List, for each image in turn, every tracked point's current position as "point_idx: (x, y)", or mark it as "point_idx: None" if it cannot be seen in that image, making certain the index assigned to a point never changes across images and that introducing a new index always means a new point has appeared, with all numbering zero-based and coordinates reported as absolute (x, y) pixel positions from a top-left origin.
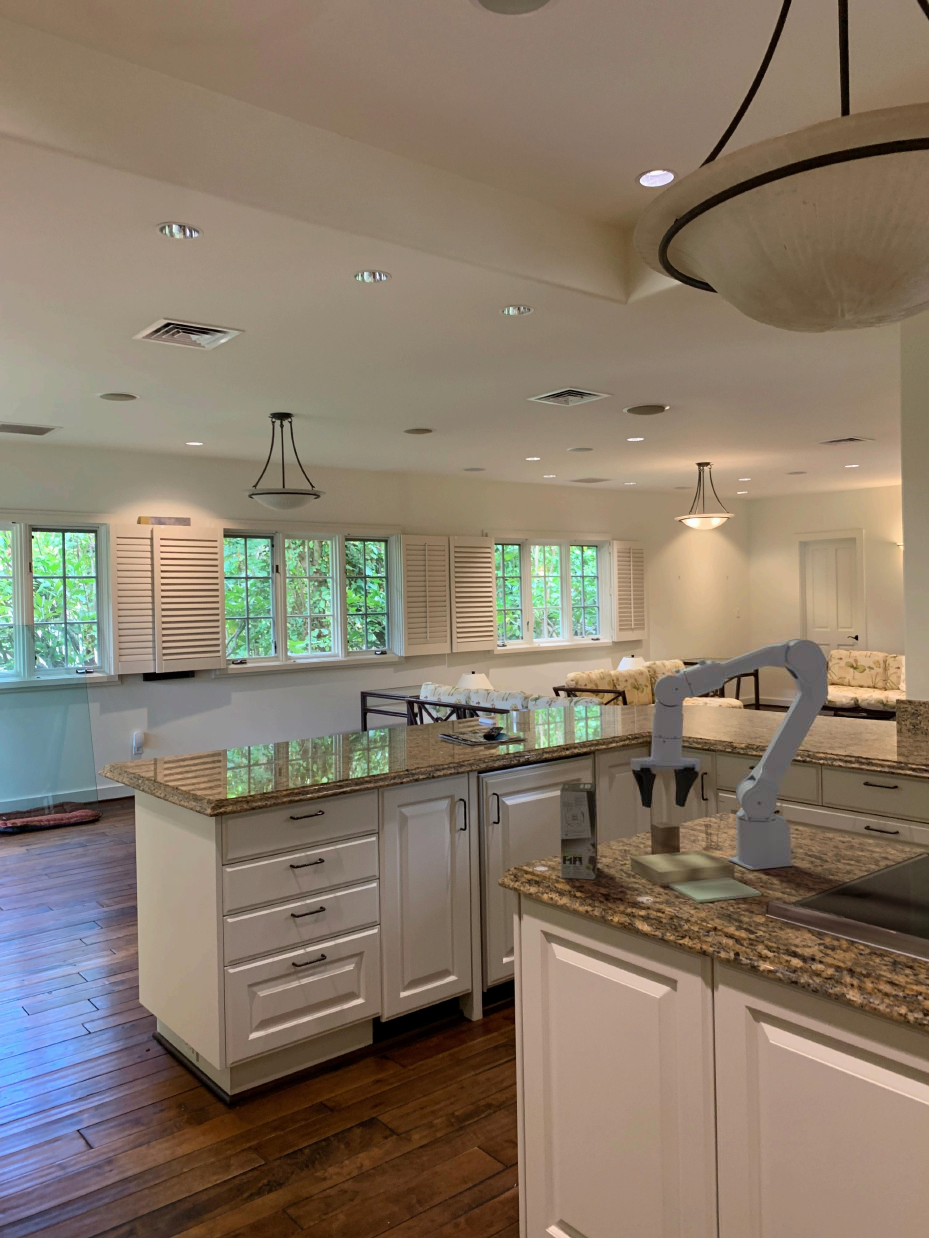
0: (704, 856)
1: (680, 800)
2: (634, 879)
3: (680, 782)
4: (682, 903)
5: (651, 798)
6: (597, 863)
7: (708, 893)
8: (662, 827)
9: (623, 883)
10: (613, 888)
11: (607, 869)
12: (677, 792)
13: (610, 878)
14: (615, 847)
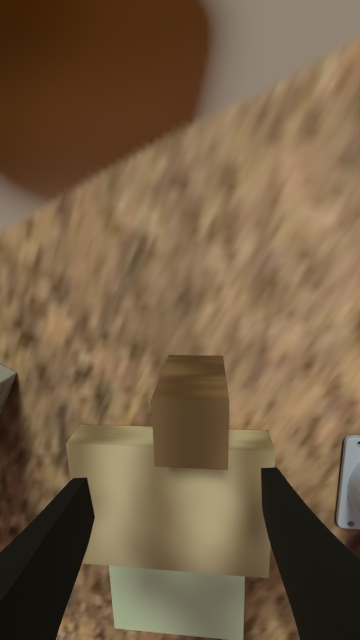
0: (244, 502)
1: (269, 524)
2: (63, 480)
3: (312, 630)
4: (90, 613)
5: (75, 573)
6: (11, 378)
7: (148, 612)
8: (161, 464)
9: (33, 493)
10: (5, 511)
11: (33, 399)
12: (283, 527)
13: (18, 457)
14: (125, 209)
